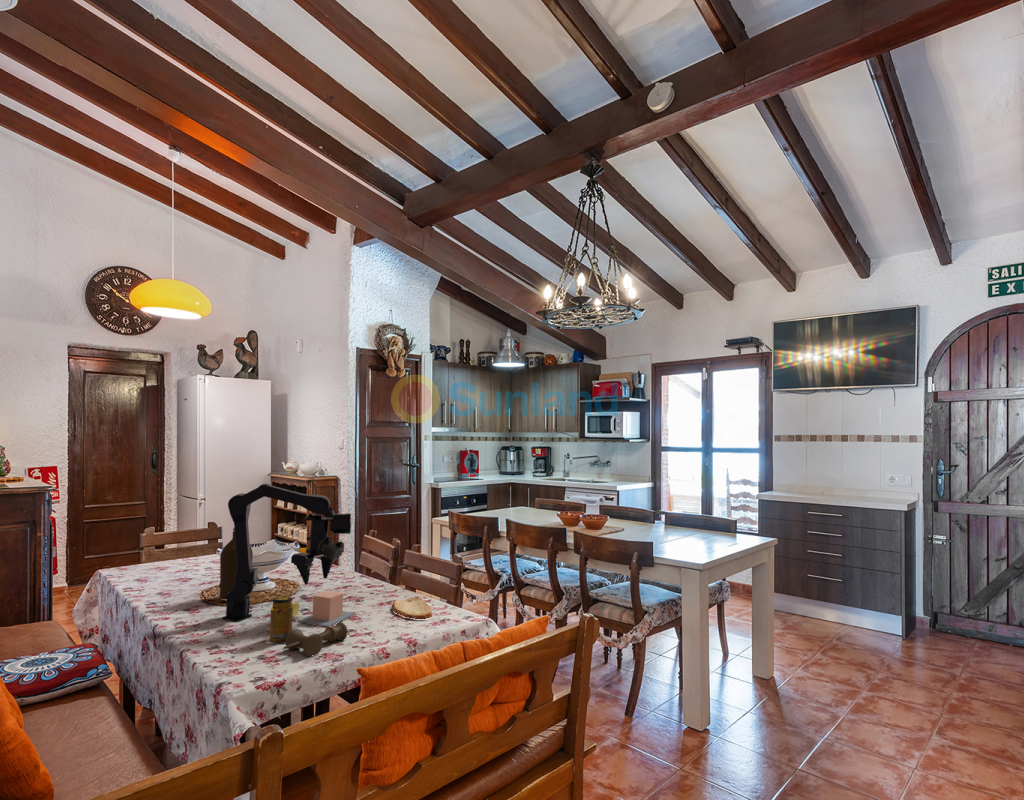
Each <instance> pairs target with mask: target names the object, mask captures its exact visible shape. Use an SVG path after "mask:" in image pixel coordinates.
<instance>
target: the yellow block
mask: <svg viewBox="0 0 1024 800" xmlns="http://www.w3.org/2000/svg"><path fill="white" fill-rule="evenodd" d="M299 605H300V602H297V601H292V606H293V616H292V618H295V617H297V616H298V615H299V608H300V607H299ZM296 615H297V616H296Z"/></svg>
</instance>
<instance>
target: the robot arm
mask: <svg viewBox="0 0 1024 800" xmlns="http://www.w3.org/2000/svg"><path fill="white" fill-rule="evenodd" d="M262 498H269V499H272V500H276V501H281V502H285V503H287V504H293V505H296V506H300V507H301V508H303V509H305V510H307V511H309V512H310V513H309V514H308V515H307V516H306V517H305V518H304V520H305V521H310V528H309V536H307V537H306V540H307V541H309V542H308V543H309V544H308V549H305V552H298V553H293V554H292V555H291V556H290V557H291V558H290V559H291V560H290V563H291V564H293V565H294V566H295V567H296V568H297V570H298V573H299V574H300V576H301V579H302V581H303V583H304V585H308V584H309V580H310V572H311V568H312V567H313V566H314V563H313V562H314V560H315V559H318V558H320V562H321V570H322V572H321V573H322V576H323V579H327V578H328V575H329V574H330V570H331V568H332V566H333V564H334V563H335V561H337V560H338V559H340V556H343V553H344V552H345V543H344V541H337V542H332V538H331V536H329V531H331V532H332V534H333V535H351V530H352V522H351V520H352V514H351V513H347V512H346V513H336V512H335V510H334V509H333V508H332V507H331V501H330V499H329V497H328V496H327V495H323V494H311V493H310V494H309V493H308V494H307V493H301V492H298V491H293V490H289V489H286V488H282V487H278V486H274V485H271V484H269V483H266V482H265V483H262V484H260V485H259V486H258V487H257V488H255V489H252V490H250V491H248V492H246V493H243V492H242V493H238V494H235V495H233V496H232V497H231V498H230V499H229V500H228V503H227V507H228V510H229V511H228V512H229V515H230V518H231V520H232V522H233V525H234V527H233V528H234V529H235V543H236V557H237V570H236V575H235V582H234V587H233V588H232V589H231V590H230V592H229V593H228V594H227V595H226V599H227V602H226V610H225V612H226V613H225V616H222V617H221V618H222V620H226V621H232V622H240V621H242V620H245V619H248V618H250V617H253V614H252V613H250V605H251V604H250V596H247V595H248V594H249V595H250V594H251V593H252V591H253V590H254V589H255V587H256V586H257V584H258V582H259V580H260V578H259V576H258V573H259V572H258V571H259V570H258V569H259V568H258V567H255V568H254V567H253V565H252V564H253V563H252V564H251V555H250V547H251V544H250V542H251V541H250V532H249V530H250V529H249V517H250V514H251V507H252V506H251V504H253V503H254V502H257V501H258V500H260V499H262ZM313 513H314V514H313ZM329 523H330V525H329ZM329 526H330V527H329Z"/></svg>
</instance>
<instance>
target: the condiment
mask: <svg viewBox="0 0 1024 800" xmlns="http://www.w3.org/2000/svg"><path fill="white" fill-rule="evenodd" d="M292 600H293V598H292V596H290V595H279V596H276V597H274V598H273V599H272V605H271V606H272V607H271V608H270V621H269V622H270V623H269V638H268V640H266V641H265V642H264V644H265V645H266V644H268V645H269V644H270V645H273V644H274V645H275V644H276V645H278V644H285V643H284V642H285V641H286V637H287V635H288V633H289V632H290V631H292V630H293V617H292V616H293V606H292V602H293V601H292Z"/></svg>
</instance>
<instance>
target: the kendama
mask: <svg viewBox="0 0 1024 800" xmlns="http://www.w3.org/2000/svg"><path fill="white" fill-rule="evenodd" d="M347 637H348V628H347V625H346V624H345V623H344V622H343V621H342V622H339V623H337V624H335V625H334V626H331V627H325V630H323V631H322V632H320V633H312V634H310V635H304V632H303V631H302V629H300V628H295V629H292V631H290V632H289V633H288V635H287V637H286V641H285V642H286V643H285V645H284V646H283V650H286V649H288V650H290V651H293V649H294V650H297V649H301V650H303V653H304V655H305V656H306V657H308V656H312V655H315V654H317V655H318V654H320V652H321V651H322V648H323V645H324V644H323V642H328V643H332V642H335V640H339V639H341V640H340V641H344V640H346V638H347ZM315 656H316V655H315ZM312 657H313V656H312Z"/></svg>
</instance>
